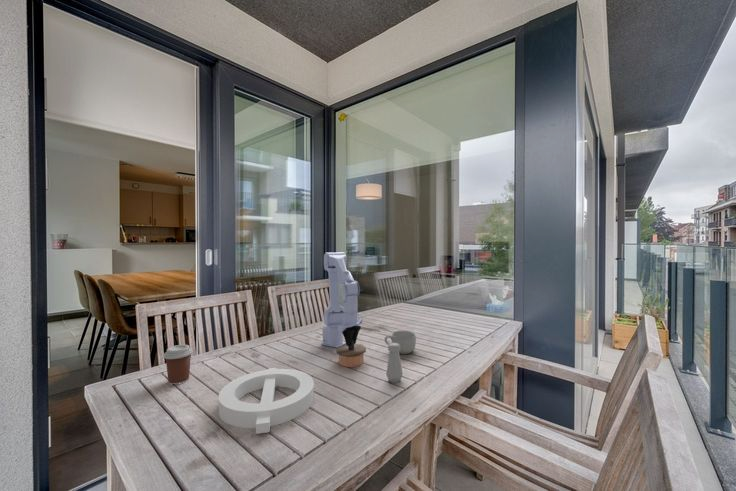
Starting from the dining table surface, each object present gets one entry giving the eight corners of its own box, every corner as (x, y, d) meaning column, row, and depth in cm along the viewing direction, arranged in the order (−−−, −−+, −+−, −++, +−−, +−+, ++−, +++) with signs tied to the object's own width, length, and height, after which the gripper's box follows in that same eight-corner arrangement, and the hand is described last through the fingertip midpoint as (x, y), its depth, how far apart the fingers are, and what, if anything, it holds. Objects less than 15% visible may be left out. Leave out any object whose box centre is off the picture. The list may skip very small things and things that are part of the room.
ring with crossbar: (262, 441, 79) (261, 423, 79) (198, 410, 94) (198, 394, 94) (331, 394, 103) (331, 380, 103) (272, 375, 118) (272, 363, 118)
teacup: (415, 347, 146) (415, 330, 145) (416, 356, 135) (416, 337, 135) (385, 347, 147) (385, 330, 147) (384, 355, 136) (384, 337, 136)
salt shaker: (404, 378, 114) (404, 342, 114) (400, 385, 108) (400, 347, 108) (388, 376, 116) (388, 340, 116) (384, 382, 110) (384, 345, 110)
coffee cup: (189, 373, 120) (188, 341, 120) (196, 380, 113) (196, 347, 113) (161, 381, 113) (160, 347, 113) (167, 389, 107) (166, 354, 107)
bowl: (333, 363, 128) (333, 353, 128) (348, 355, 136) (348, 346, 136) (354, 368, 123) (354, 358, 122) (368, 360, 131) (367, 350, 131)
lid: (330, 352, 128) (330, 341, 128) (349, 344, 138) (349, 334, 138) (353, 358, 121) (353, 347, 121) (371, 349, 131) (371, 338, 131)
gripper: (348, 316, 121) (348, 351, 121) (368, 309, 133) (368, 341, 133) (333, 314, 125) (334, 348, 125) (354, 307, 137) (354, 338, 137)
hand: (350, 344), depth 129 cm, fingers closed on lid, 2 cm apart
